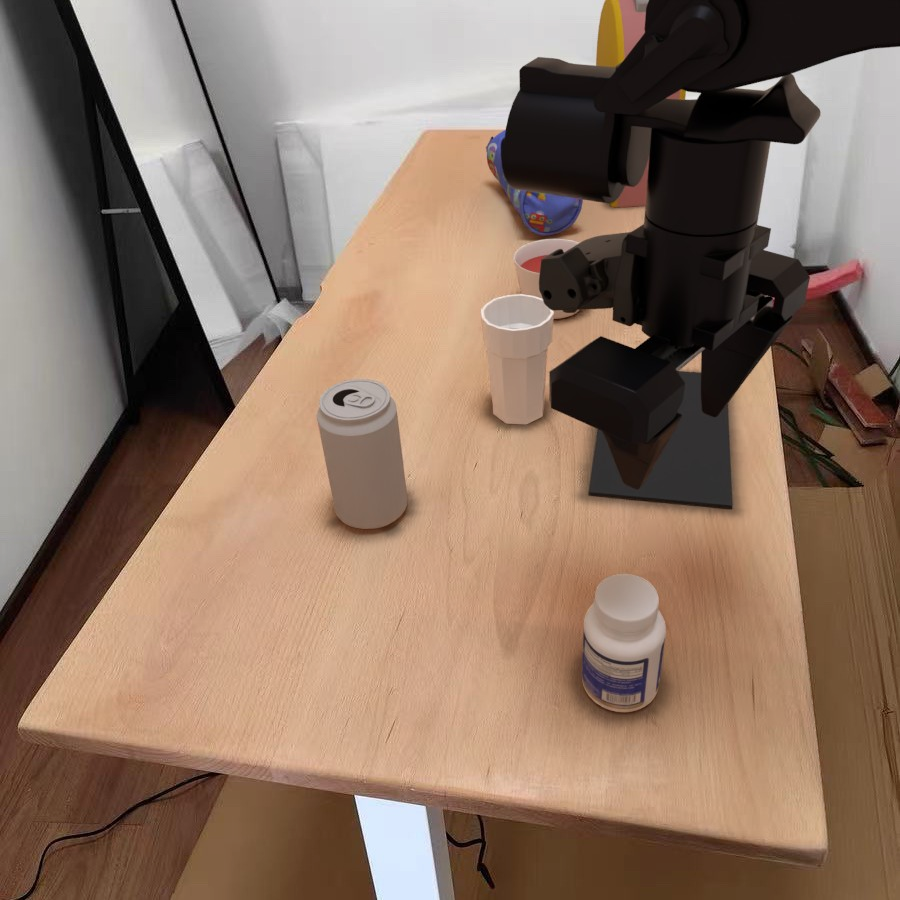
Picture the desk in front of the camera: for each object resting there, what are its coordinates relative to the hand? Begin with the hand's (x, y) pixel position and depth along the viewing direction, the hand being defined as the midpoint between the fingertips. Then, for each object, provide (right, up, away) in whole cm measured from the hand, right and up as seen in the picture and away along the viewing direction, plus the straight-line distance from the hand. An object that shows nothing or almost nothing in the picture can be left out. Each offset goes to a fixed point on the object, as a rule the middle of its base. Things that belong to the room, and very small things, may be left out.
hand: (672, 448), depth 55 cm
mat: (+6, +2, +27) cm, 28 cm away
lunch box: (+13, +41, +76) cm, 87 cm away
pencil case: (-2, +34, +69) cm, 77 cm away
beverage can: (-21, -6, +21) cm, 30 cm away
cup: (-7, +4, +31) cm, 32 cm away
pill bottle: (-2, -16, +5) cm, 17 cm away
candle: (-2, +17, +47) cm, 50 cm away
